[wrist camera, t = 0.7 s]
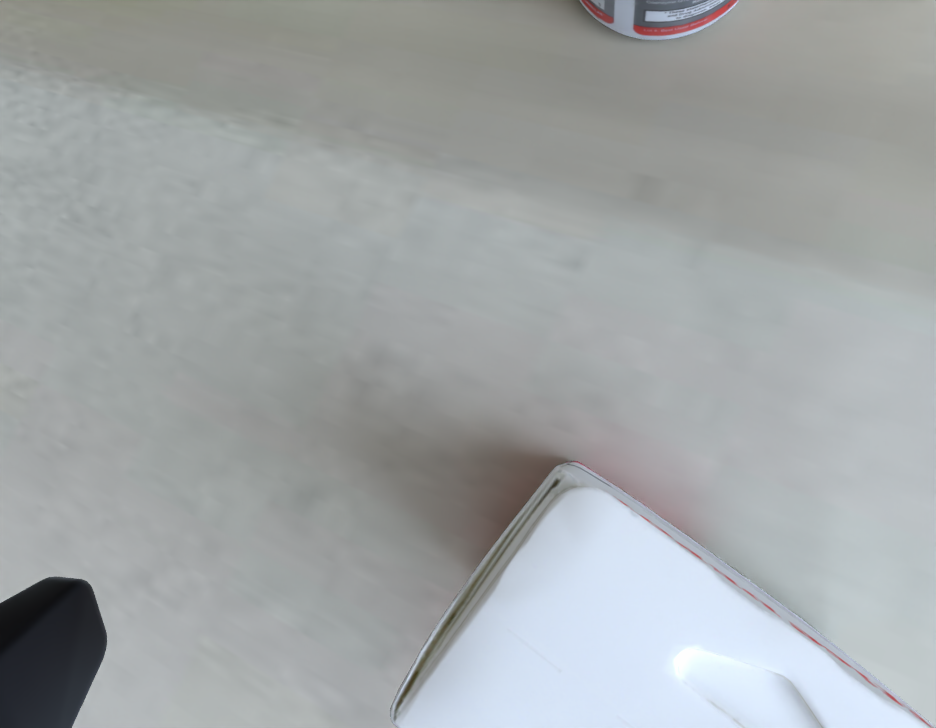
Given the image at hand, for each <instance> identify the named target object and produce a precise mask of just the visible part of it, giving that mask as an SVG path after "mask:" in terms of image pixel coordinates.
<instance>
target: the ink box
mask: <svg viewBox="0 0 936 728" xmlns="http://www.w3.org/2000/svg"><path fill="white" fill-rule="evenodd" d="M390 717H391V720H392V722H393V724H394V725H395V726H396V727H397V728H936V727H935V726H934V725H933V724H931V723H930V722H929V721H928V720H927V719H925V718H924V717H923V716H922V715H921V714H919V713H918V712H917V711H916V710H914V709H913V708H912V707H911V706H910V705H908V704H907V703H906V702H905V701H904V700H902V699H901V698H900V697H899V696H897V695H896V694H895V693H894V692H893V691H891V690H890V689H889V688H888V687H887V686H885V685H884V684H883V683H882V682H881V681H879V680H878V679H877V678H876V677H874V676H873V675H872V674H871V673H869V672H868V671H867V670H866V669H864V668H863V667H862V666H861V665H859V664H858V663H857V662H856V661H854V660H853V659H852V658H851V657H849V656H848V655H847V654H846V653H845V652H843V651H842V650H841V649H840V648H839V647H837V646H836V645H835V644H833V643H832V642H831V641H829V640H828V639H827V638H826V637H824V636H823V635H822V634H820V633H819V632H818V631H817V630H815V629H814V628H813V627H811V626H810V625H809V624H807V623H806V622H805V621H804V620H802V619H801V618H800V617H798V616H797V615H796V614H794V613H793V612H792V611H790V610H789V609H787V608H786V607H785V606H783V605H782V604H781V603H779V602H778V601H777V600H775V599H774V598H773V597H771V596H770V595H769V594H767V593H766V592H764V591H763V590H762V589H760V588H759V587H758V586H756V585H755V584H753V583H752V582H751V581H749V580H748V579H747V578H745V577H744V576H742V575H741V574H740V573H738V572H737V571H735V570H734V569H733V568H731V567H730V566H729V565H727V564H726V563H724V562H723V561H722V560H720V559H719V558H718V557H716V556H715V555H713V554H712V553H711V552H709V551H708V550H707V549H705V548H704V547H702V546H701V545H700V544H698V543H697V542H695V541H694V540H693V539H691V538H690V537H688V536H687V535H686V534H684V533H683V532H681V531H680V530H678V529H677V528H676V527H674V526H673V525H671V524H670V523H669V522H667V521H666V520H664V519H663V518H661V517H660V516H658V515H657V514H656V513H654V512H653V511H651V510H650V509H649V508H647V507H646V506H645V505H644V504H642V503H640V502H639V501H637V500H636V499H634V498H633V497H631V496H630V495H628V494H627V493H625V492H624V491H622V490H621V489H619V488H618V487H616V486H615V485H614V484H612V483H611V482H609V481H608V480H606V479H604V478H603V477H601V476H600V475H598V474H597V473H595V472H594V471H592V470H591V469H589V468H588V467H586V466H585V465H583V464H582V463H580V462H578V461H570V462H566V463H564V464H562V465H561V464H560V465H557V466H556V467H555V468H554V469H553V470H552V471H551V473H550V474H549V475H548V476H547V478H546V479H545V480H544V481H543V483H542V484H541V485H540V486H539V488H538V489H537V490H536V492H535V493H534V494H533V495H532V497H531V498H530V499H529V500H528V502H527V503H526V504H525V505H524V507H523V508H522V509H521V511H520V512H519V513H518V514H517V516H516V517H515V518H514V519H513V521H512V522H511V523H510V525H509V526H508V527H507V528H506V530H505V531H504V532H503V534H502V535H501V536H500V538H499V539H498V540H497V541H496V543H495V544H494V545H493V547H492V548H491V549H490V550H489V552H488V553H487V554H486V556H485V557H484V558H483V560H482V561H481V562H480V564H479V565H478V566H477V568H476V569H475V570H474V572H473V573H472V575H471V576H470V577H469V579H468V580H467V582H466V583H465V584H464V586H463V587H462V589H461V590H460V591H459V593H458V594H457V596H456V597H455V599H454V600H453V601H452V603H451V604H450V606H449V607H448V609H447V610H446V611H445V613H444V614H443V616H442V617H441V619H440V620H439V622H438V624H437V625H436V627H435V628H434V630H433V631H432V633H431V634H430V636H429V638H428V639H427V641H426V642H425V644H424V646H423V647H422V649H421V651H420V653H419V654H418V656H417V658H416V660H415V661H414V663H413V665H412V667H411V668H410V670H409V672H408V674H407V675H406V677H405V679H404V681H403V682H402V684H401V686H400V688H399V689H398V692H397V694H396V696H395V699H394V701H393V703H392V706H391V708H390Z"/></svg>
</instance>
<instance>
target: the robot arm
mask: <svg viewBox="0 0 936 728" xmlns="http://www.w3.org/2000/svg"><path fill="white" fill-rule="evenodd" d="M106 645H107V634H106V630H105V626H104V623H103V620H102V617H101V614H100V611H99V607H98V604H97V601H96V598H95V595H94V592H93V589H92V587H91V585H90V584H89V583H88V582H87V581H85V580H82V579H74V578H65V577H49V578H46V579H44V580H42V581H40V582H38V583H36V584H34V585H32V586H31V587H29V588H27V589H25V590H23V591H22V592H20V593H18V594H16V595H14V596H13V597H11V598H9V599H7V600H5V601H4V602H2V603H0V728H72V726H73V724H74V721H75V719H76V717H77V715H78V713H79V710H80V708H81V706H82V704H83V702H84V699H85V697H86V695H87V693H88V691H89V688H90V686H91V684H92V682H93V680H94V678H95V675H96V673H97V671H98V669H99V667H100V664H101V662H102V660H103V657H104V655H105V651H106Z"/></svg>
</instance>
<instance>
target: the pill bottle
mask: <svg viewBox="0 0 936 728" xmlns="http://www.w3.org/2000/svg"><path fill="white" fill-rule="evenodd" d="M738 1H739V0H580V2H581V4H582V5H583V6H584V7H585V9H586V10H587V11H588V12H589V13H590V14H591V15H592V16H593V17H594V18H595V19H597V20H598V21H599V22H601V23H602V24H604V25H605V26H607V27H609V28H610V29H612V30H614V31H616V32H618V33H621V34H623V35H627V36H630V37H634V38H639V39H647V40H666V39H673V38H678V37H682V36H686V35H689V34H692V33H695V32H697V31H700V30H702V29H704V28H706V27H708V26H710V25H711V24H713V23H715V22H716V21H717V20H719V19H720V18H722V17H723V16H724V15H725V14H726V13H728V12H729V11H730V10H731V9H732V8H733V7H734V6H735V5H736V4H737V3H738Z"/></svg>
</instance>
